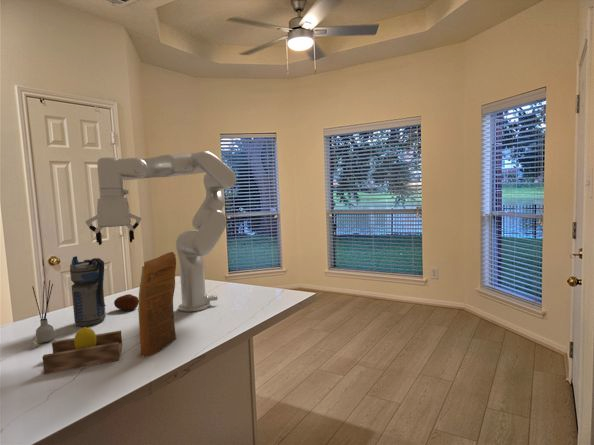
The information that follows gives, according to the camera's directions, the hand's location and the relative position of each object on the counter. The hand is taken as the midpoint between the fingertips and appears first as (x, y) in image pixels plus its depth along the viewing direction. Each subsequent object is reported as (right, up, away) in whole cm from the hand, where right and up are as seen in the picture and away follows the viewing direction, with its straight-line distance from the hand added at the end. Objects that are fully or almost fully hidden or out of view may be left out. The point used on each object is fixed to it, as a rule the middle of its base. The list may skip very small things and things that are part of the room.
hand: (116, 243), depth 126 cm
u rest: (+2, -32, -22) cm, 39 cm away
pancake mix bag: (+22, -31, -15) cm, 41 cm away
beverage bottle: (-13, -31, +9) cm, 35 cm away
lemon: (+2, -31, -22) cm, 38 cm away
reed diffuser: (-18, -32, -9) cm, 38 cm away
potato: (-7, -29, +24) cm, 38 cm away
